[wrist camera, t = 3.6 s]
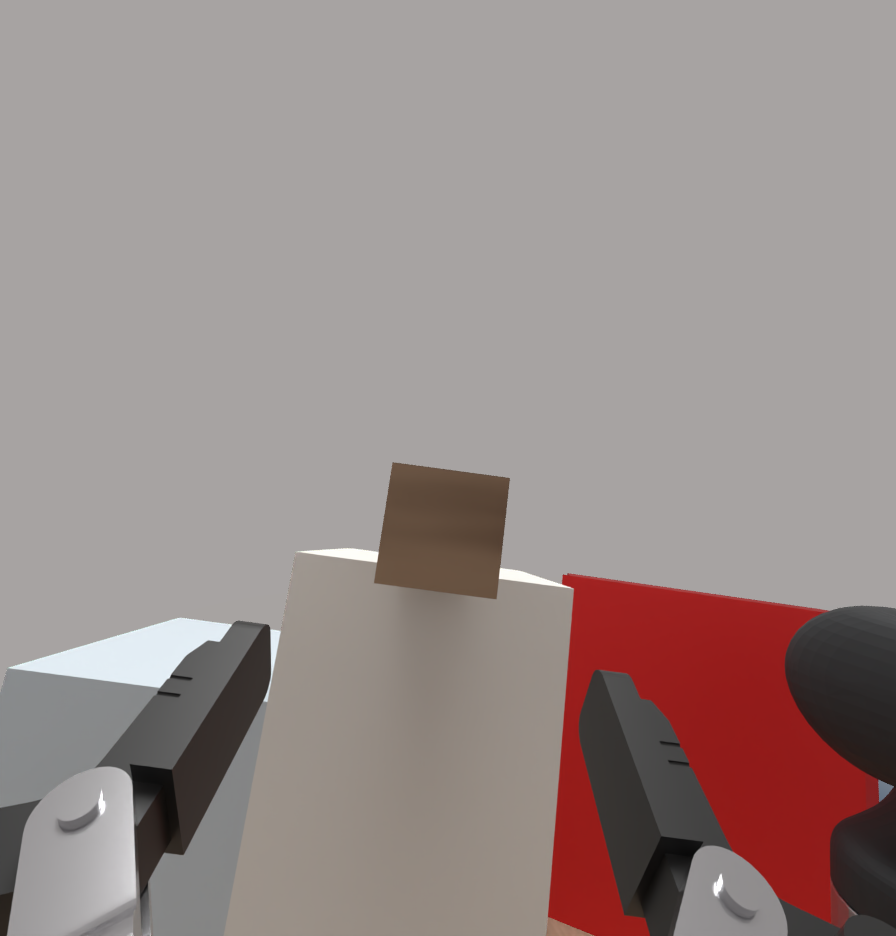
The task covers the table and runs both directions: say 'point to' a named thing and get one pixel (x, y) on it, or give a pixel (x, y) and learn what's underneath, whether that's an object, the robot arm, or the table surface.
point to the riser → (342, 757)
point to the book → (703, 741)
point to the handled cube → (443, 531)
